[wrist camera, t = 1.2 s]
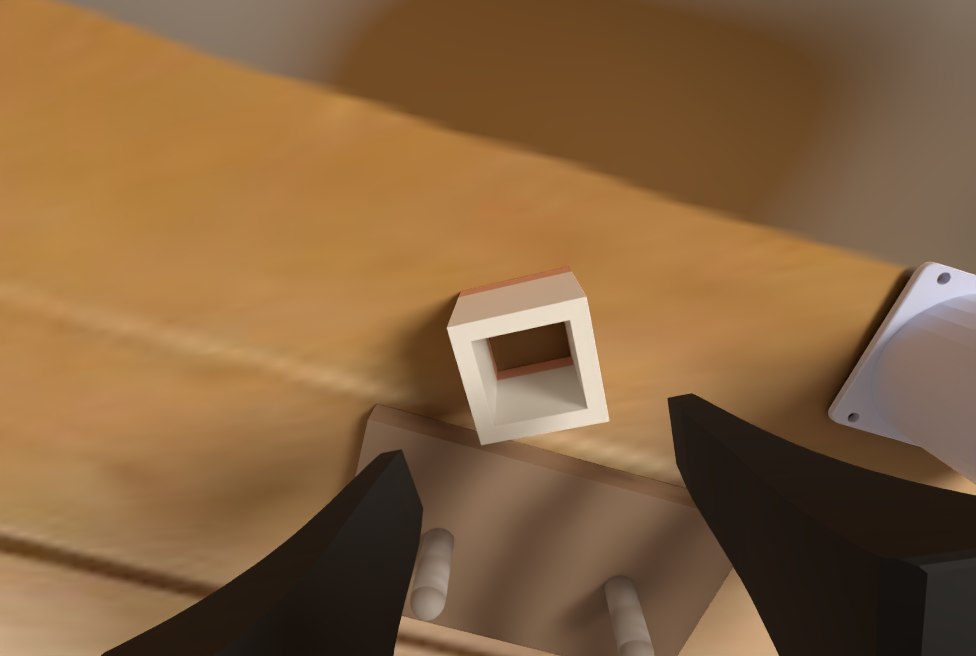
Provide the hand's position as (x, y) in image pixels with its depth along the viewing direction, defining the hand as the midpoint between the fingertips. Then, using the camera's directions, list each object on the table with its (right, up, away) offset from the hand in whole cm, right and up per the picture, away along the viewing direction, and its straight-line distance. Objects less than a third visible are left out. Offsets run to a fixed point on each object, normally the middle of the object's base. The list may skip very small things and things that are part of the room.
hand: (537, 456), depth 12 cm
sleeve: (0, +3, +9) cm, 10 cm away
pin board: (+1, -9, +13) cm, 16 cm away
